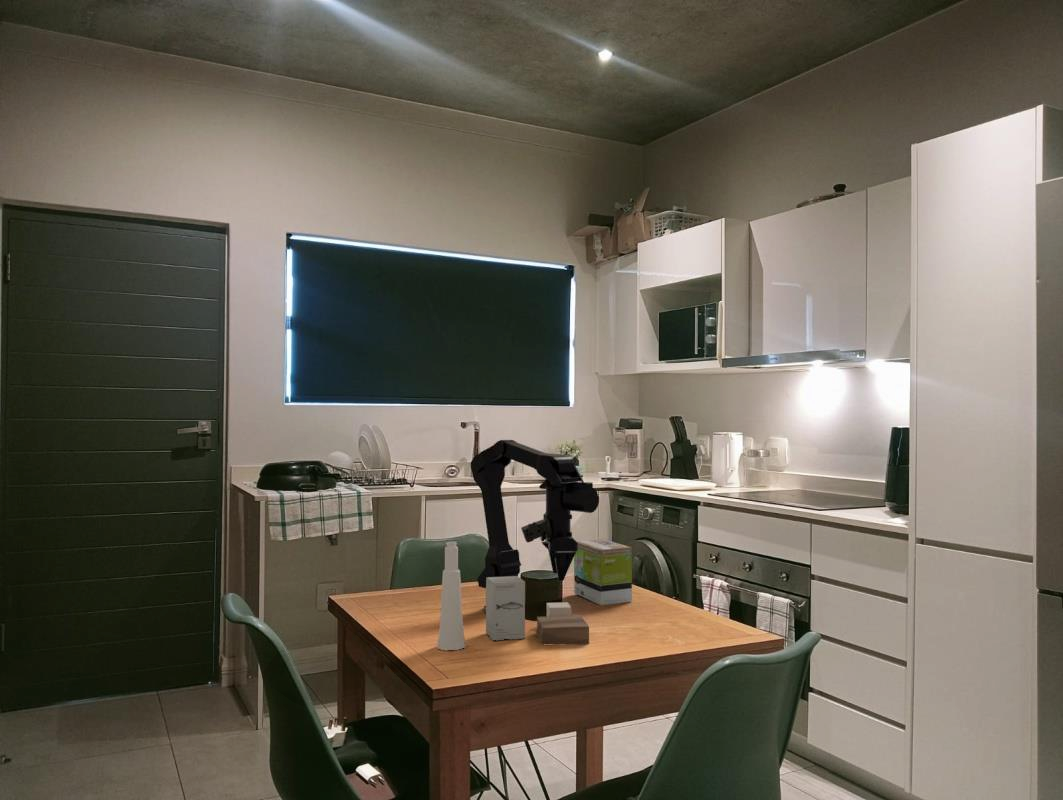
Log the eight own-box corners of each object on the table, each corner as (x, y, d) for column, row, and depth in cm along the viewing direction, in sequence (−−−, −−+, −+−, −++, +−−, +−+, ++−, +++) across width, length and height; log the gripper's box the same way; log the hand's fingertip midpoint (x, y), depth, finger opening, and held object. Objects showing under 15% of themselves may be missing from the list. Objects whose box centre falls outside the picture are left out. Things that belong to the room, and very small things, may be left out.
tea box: (572, 594, 224) (572, 540, 225) (604, 591, 228) (604, 538, 229) (600, 606, 211) (599, 548, 211) (633, 602, 215) (633, 545, 215)
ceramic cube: (546, 624, 192) (546, 602, 192) (567, 623, 193) (567, 602, 193) (549, 629, 187) (549, 607, 187) (571, 629, 188) (571, 607, 188)
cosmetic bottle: (471, 647, 172) (471, 542, 173) (448, 653, 168) (448, 545, 169) (453, 641, 177) (454, 539, 177) (431, 647, 172) (431, 542, 173)
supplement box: (492, 641, 177) (492, 583, 177) (485, 633, 184) (485, 576, 184) (525, 639, 179) (525, 581, 179) (517, 631, 186) (517, 574, 186)
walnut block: (537, 634, 184) (537, 616, 184) (581, 633, 185) (580, 615, 185) (542, 646, 174) (542, 627, 174) (589, 645, 175) (589, 626, 175)
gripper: (519, 505, 199) (519, 570, 198) (528, 514, 180) (527, 585, 180) (565, 504, 200) (565, 569, 200) (578, 513, 182) (577, 584, 181)
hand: (558, 576), depth 190 cm, fingers open, 9 cm apart
